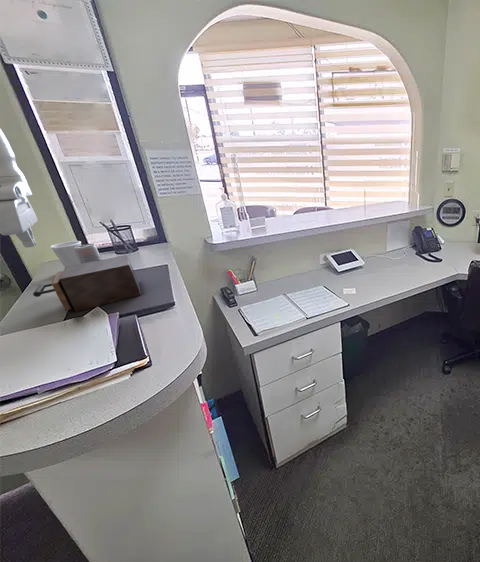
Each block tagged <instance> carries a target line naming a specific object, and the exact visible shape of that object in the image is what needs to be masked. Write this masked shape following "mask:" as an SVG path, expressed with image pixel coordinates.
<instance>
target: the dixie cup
mask: <svg viewBox="0 0 480 562" xmlns="http://www.w3.org/2000/svg"><path fill="white" fill-rule="evenodd" d="M80 245H82V241H80V240H71V241H70V240H69V241H64V242H60V243H55V244H53V245H51V246H50V247H49V248H50V249H51V250H52V251H53V252H54V254H55V256H56V257H57V259H58V260H59V261H60V263H61V264H62V265H63V267H64V268H65V267H67V266H73V265H78V264H81V263H80V261H79V259H78V257H77V255H76V252H75V248H74V247H76V246H80Z"/></svg>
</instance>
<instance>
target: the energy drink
mask: <svg viewBox="0 0 480 562" xmlns="http://www.w3.org/2000/svg"><path fill="white" fill-rule="evenodd" d="M74 248H75V252H76V255H77V257H78V259H79V261H80V263H81V264H83V263H88V262H93V261H98V260H103V259H102V257H101V254H100V253H99V250H98V248H97V246H96V245H95V243H86V244H81V245H80V246H76V247H74Z"/></svg>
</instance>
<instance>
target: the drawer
mask: <svg viewBox="0 0 480 562" xmlns="http://www.w3.org/2000/svg"><path fill="white" fill-rule="evenodd" d="M63 271H64V270H61V271H57V273H56V275H55V276H54V279H53V280H52V282H51V283H47V284H44V283H39V284H38V285H37V287H36V289H35V290H34V291H33V293H32V295H33V297H35V298H38V297H41V296H42V295H44V294H49V293H53V292H55V293H56V295H57V298H58V299H59V301H60V303H61V305H62V307H63V309H64V310H65V311H69V310H72V307H73V305H72V303H71V301H70V299H69V297H68V295H67V293H66V291H65V289H64V287H63V285H62V283H61V281H60V277H61V275H62V273H63ZM49 287H52V288H51V289H46V288H49Z"/></svg>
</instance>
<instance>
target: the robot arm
mask: <svg viewBox="0 0 480 562" xmlns="http://www.w3.org/2000/svg"><path fill="white" fill-rule="evenodd" d="M29 196H33V191H32V190H31V188H30V185H29V183H28V181H27V178H26V176H25V174H24V173H23V171H21V169H20V168H19V166H18V164H17V160H16V155H15V153H14V150H13V148H12V146H11V145H10V142H9V140H8V138H7V137H6V135H5V134H4V132H3V131H2V129H1V128H0V234H1V235H2V236H13V235H15V236H16V237H17V238H18V239H19V241H20V242H21V243H22V246H23V247H24V248H28V249H29V248H33V247H34V246H35V245H37V241H36V239H35V236H34V232H33V229H32V227H33V226H34V225H35V224H37V222H38V221H39V219H38V217H37V214H36V212H35V210H34V209H33V206H32V204H31V202H30V200H29V199H28V197H29Z"/></svg>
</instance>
